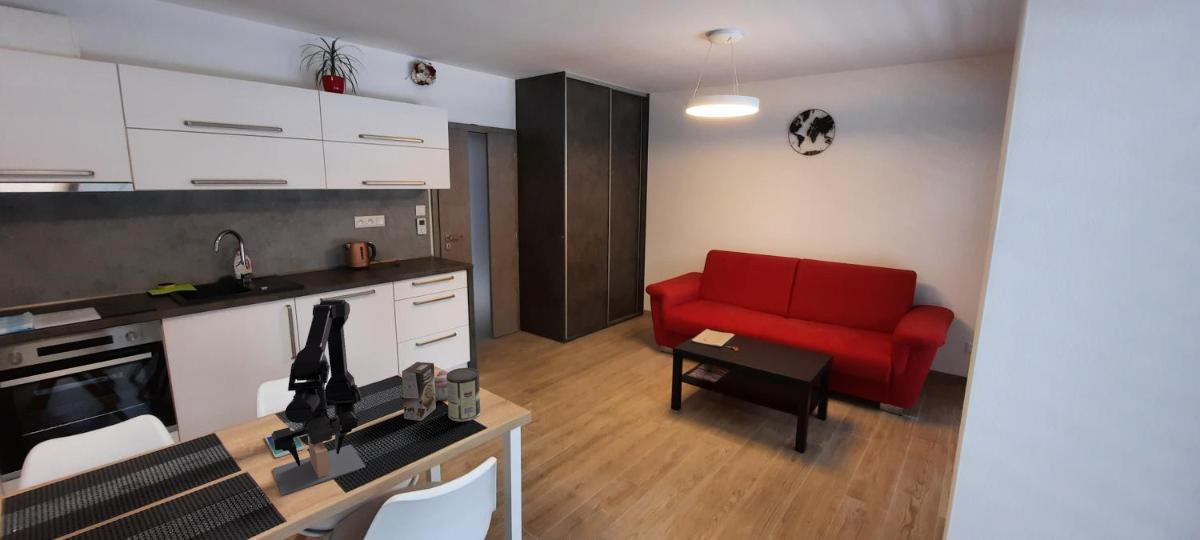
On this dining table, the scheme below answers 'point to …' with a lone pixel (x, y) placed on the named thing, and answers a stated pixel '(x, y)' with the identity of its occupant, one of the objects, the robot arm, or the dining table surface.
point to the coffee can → (463, 394)
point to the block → (319, 458)
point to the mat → (305, 475)
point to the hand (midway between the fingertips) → (318, 459)
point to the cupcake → (441, 386)
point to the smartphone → (279, 452)
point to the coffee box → (418, 390)
